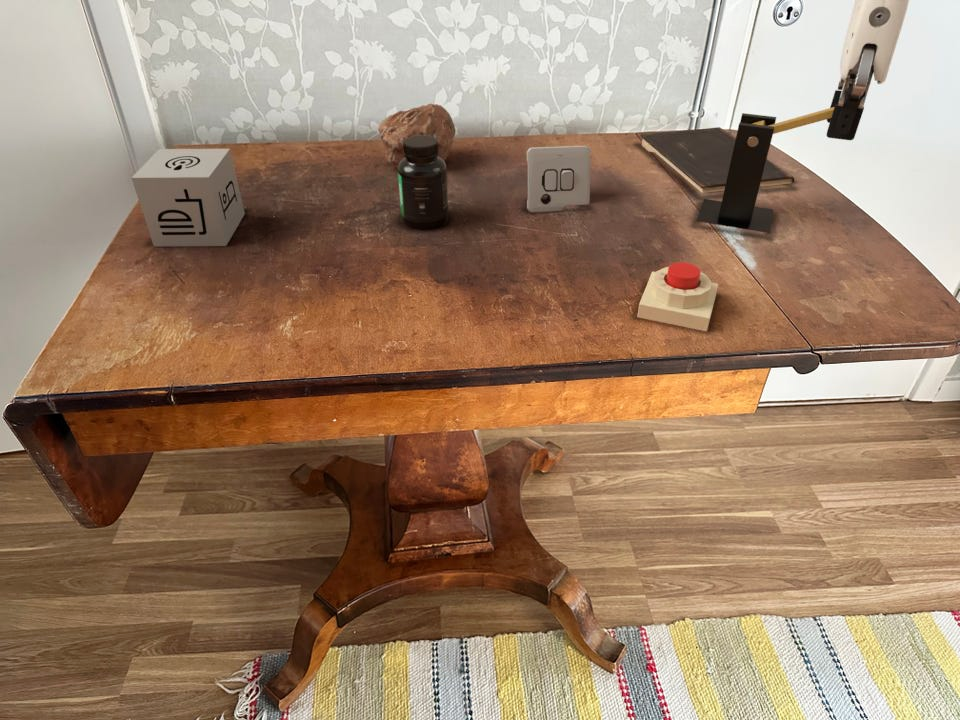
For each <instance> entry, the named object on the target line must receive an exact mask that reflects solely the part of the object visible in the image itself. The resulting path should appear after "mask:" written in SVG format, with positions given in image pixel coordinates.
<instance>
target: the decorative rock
mask: <svg viewBox="0 0 960 720" xmlns="http://www.w3.org/2000/svg"><path fill="white" fill-rule="evenodd" d="M377 130H378V134H379V138H380V139H381V141H382V143H383V147H384V155H385V159H386V160H387V162H388V163H389V164H390V165H391V166H392V167H394V168H396V170H398V165H399V163H400V161H401V160H402V159H403V158H405V157H404V155H403V141H404V140H405V139H406V138H408V137H411V136H417V135H427V136H432V137H435V138H437V140H438V146H439V155H438V156H439V157H440V158H442V159H443V160H444V162H446V160H447V157H448V156H449V155H450V152H451V151H452V147H453V146H452V145H453V141H454V138H455V136H456V131H457V130H456V125H455V123H454V122H453V119H452V116H451V114H450V113H449V112H448V110H447V109H446V108H445V107H443V105H440V104H438V103H436V104H434V103H428V104H427V105H423V104H422V105H420V106H418V107H411V108H410V109H407V110H399V111H397V112H395V113H393V114H389V115H388V116H387V117H385V118H384V119H382V120H381V122H380V124H379V126H378V128H377Z"/></svg>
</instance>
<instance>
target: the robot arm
mask: <svg viewBox="0 0 960 720" xmlns="http://www.w3.org/2000/svg"><path fill="white" fill-rule="evenodd" d="M909 2H910V0H854V3H853V8H852V11H851V15H850V19H849V22H848V25H847V29H846V33H845V37H844V41H843V46H842V51H841V57H840V61H839V70H840V71H839V73H840V75H839V76H840V79H839V82H838V85H837V89H835V90H834V93H833V97H832V100H831V103H830V107H829V108H832V107H834V111H833V114H832V117H831V118H829V119H826V122H827V123H828V127H827V130H826V137H827V138H828V139H836V140H842V141H843V140H845V141H853V140H854V139H855V137H856V134H857V131H858V128H859V125H860V122H861V119H862V116H863V113H864V110H865V107H864V106H865V103H866V100H867V96H868V92H869V89H870V86H871V83H872V80H873V79H872V78H874V81H875V82H877V85H882V84H883V83H884V82H886V80H887V77H888V73H889V71H890V66H891V63H892V60H893V57H894V54H895V50H896V47H897V43H898V40H899V38H900V34H901V31H902V28H903V25H904V21H905V17H906V14H907V11H908V6H909Z"/></svg>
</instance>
